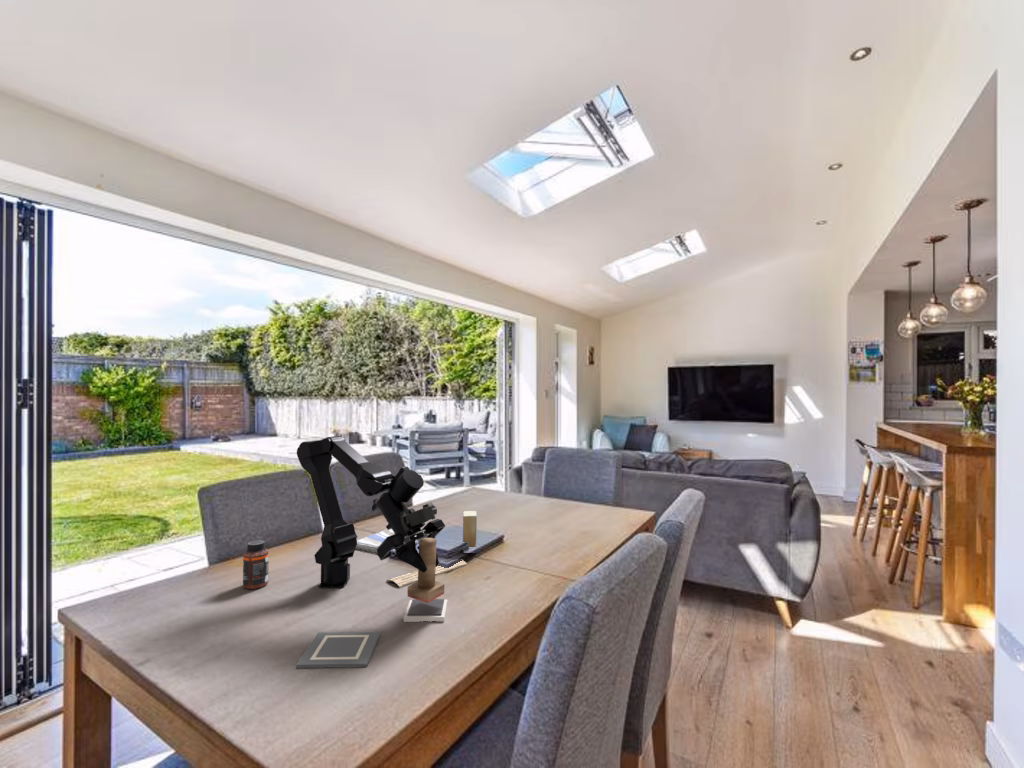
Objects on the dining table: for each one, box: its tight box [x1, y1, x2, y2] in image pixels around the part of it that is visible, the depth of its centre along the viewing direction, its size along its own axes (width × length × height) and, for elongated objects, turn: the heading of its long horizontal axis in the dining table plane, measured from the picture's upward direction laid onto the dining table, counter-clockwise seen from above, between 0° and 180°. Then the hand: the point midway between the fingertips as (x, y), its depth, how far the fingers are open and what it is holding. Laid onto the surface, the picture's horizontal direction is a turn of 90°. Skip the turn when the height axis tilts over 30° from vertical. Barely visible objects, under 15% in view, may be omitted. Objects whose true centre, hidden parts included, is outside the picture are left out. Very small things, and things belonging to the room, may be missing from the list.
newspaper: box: [386, 559, 468, 589], centre depth 139 cm, size 24×7×2 cm, turn 137°
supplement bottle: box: [242, 539, 270, 590], centre depth 129 cm, size 6×6×11 cm
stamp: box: [407, 538, 445, 603], centre depth 115 cm, size 6×6×13 cm
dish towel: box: [355, 528, 395, 554], centre depth 166 cm, size 17×24×3 cm
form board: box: [295, 631, 381, 669], centre depth 98 cm, size 13×12×1 cm
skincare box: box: [462, 510, 478, 548], centre depth 158 cm, size 6×4×12 cm
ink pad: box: [403, 598, 448, 623], centre depth 115 cm, size 9×9×1 cm
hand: (431, 568), depth 114 cm, fingers closed on stamp, 4 cm apart
